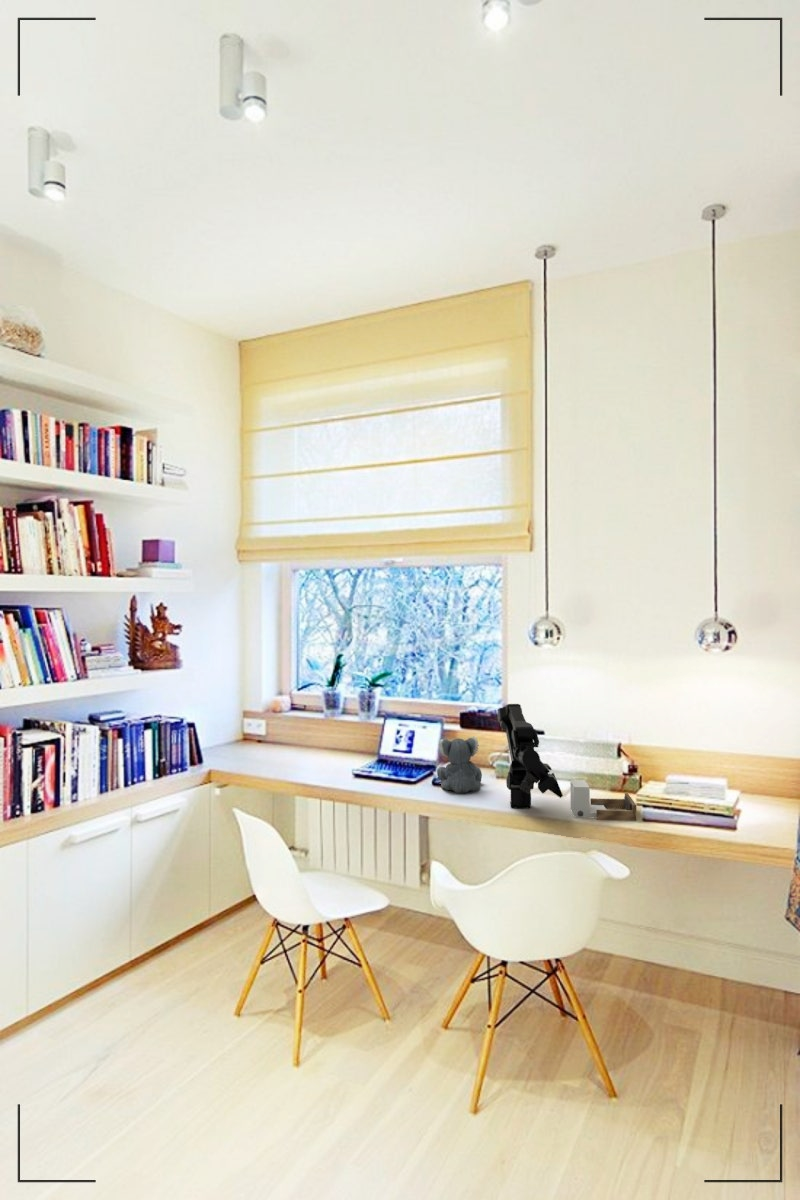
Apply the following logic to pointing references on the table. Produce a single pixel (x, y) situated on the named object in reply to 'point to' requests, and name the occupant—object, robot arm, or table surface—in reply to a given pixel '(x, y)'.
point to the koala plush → (459, 765)
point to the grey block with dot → (582, 800)
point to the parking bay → (616, 803)
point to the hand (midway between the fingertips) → (561, 796)
